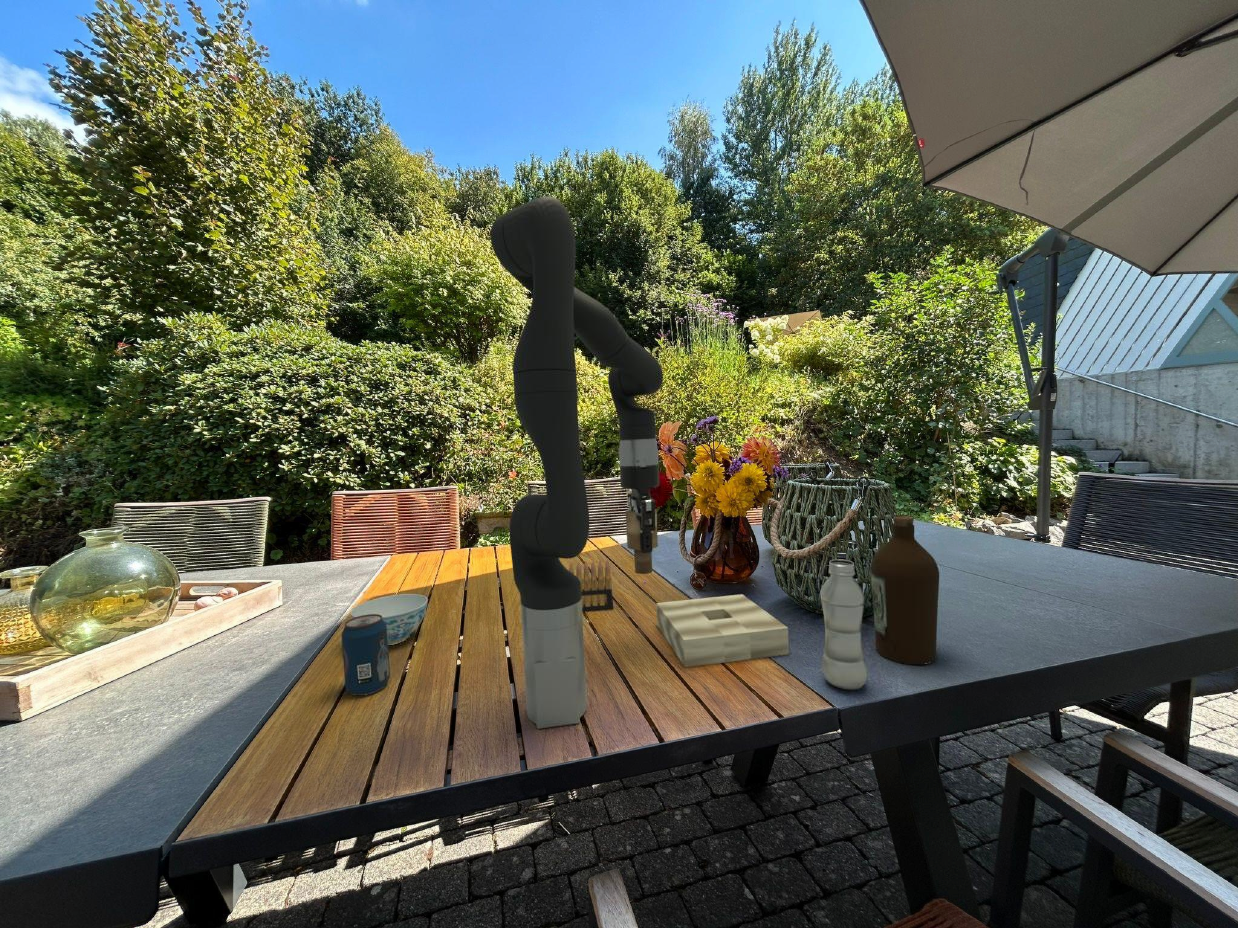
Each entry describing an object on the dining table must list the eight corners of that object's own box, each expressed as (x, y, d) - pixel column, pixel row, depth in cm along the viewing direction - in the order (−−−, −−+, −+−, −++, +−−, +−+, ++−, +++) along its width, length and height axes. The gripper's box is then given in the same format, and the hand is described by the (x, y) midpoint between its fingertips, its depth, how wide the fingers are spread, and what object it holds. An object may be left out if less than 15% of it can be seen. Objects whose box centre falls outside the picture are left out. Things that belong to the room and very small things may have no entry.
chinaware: (429, 646, 99) (427, 610, 99) (347, 661, 94) (344, 623, 93) (429, 622, 113) (427, 590, 113) (358, 634, 108) (355, 600, 107)
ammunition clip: (612, 606, 118) (610, 559, 117) (613, 609, 116) (611, 560, 116) (569, 610, 117) (567, 561, 116) (569, 612, 115) (567, 563, 115)
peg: (662, 574, 91) (659, 511, 91) (631, 577, 90) (628, 514, 90) (654, 566, 97) (652, 507, 97) (625, 568, 96) (623, 509, 96)
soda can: (349, 682, 85) (344, 616, 84) (392, 674, 87) (387, 610, 87) (342, 702, 79) (336, 630, 78) (388, 692, 81) (383, 623, 80)
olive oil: (929, 643, 90) (927, 512, 89) (949, 670, 80) (948, 522, 79) (867, 639, 94) (864, 512, 92) (878, 663, 83) (876, 522, 82)
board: (788, 654, 89) (788, 627, 88) (685, 667, 85) (683, 639, 85) (743, 615, 108) (742, 594, 108) (657, 625, 105) (656, 603, 105)
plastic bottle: (842, 698, 73) (839, 569, 72) (813, 677, 80) (810, 559, 79) (877, 691, 75) (874, 565, 74) (845, 671, 81) (843, 555, 80)
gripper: (613, 462, 99) (617, 542, 100) (627, 465, 85) (631, 559, 86) (649, 460, 100) (652, 539, 101) (667, 463, 86) (671, 555, 87)
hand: (642, 548), depth 93 cm, fingers closed on peg, 6 cm apart
